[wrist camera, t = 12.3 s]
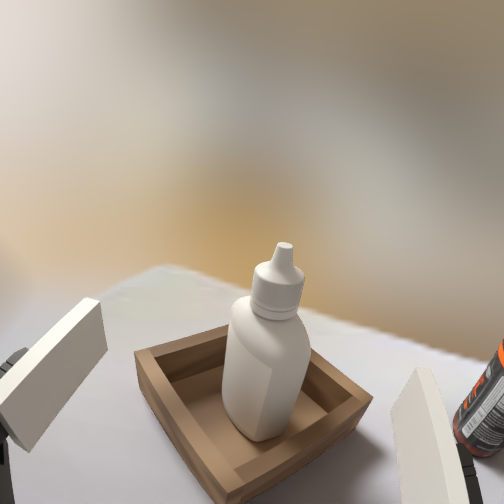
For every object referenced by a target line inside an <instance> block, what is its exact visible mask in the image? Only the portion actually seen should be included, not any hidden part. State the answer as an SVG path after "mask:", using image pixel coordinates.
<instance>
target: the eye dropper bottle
mask: <svg viewBox="0 0 504 504" xmlns="http://www.w3.org/2000/svg"><path fill="white" fill-rule="evenodd" d="M304 281H305V276H304V274H303V272H302V271H301V270H300V269H299V268H297V267H295V266H294V265H293V246H292V245H291V244H289V243H285V242H280V243H278V245H277V247H276V250H275V252H274V255H273V257H272V259H271V261H267V262H263V263H260V264H259V265H257V266H256V268H255V271H254V277H253V284H252V290H251V295H250V296H245V297H242V298H239V299H238V300H236V301H235V303H234V304H233V306H232V309H231V314H230V321H229V328H228V337H227V345H226V354H225V363H224V372H223V381H222V399H223V403H224V407H225V410H226V412H227V414H228V416H229V418H230V419H231V421H232V422H233V424H234V425H235V426H236V427H237V428H238V429H239V430H240V431H241V432H242V433H243V434H244V435H245V436H247V437H248V438H249V439H251V440H252V441H255V442H262V441H265V440H268V439H271V438H274V437H277V436H279V435H281V434H282V433H284V431H285V429H286V427H287V424H288V421H289V419H290V416H291V414H292V411H293V408H294V406H295V403H296V400H297V397H298V394H299V392H300V389H301V386H302V383H303V380H304V377H305V374H306V371H307V367H308V364H309V361H310V356H311V346H310V341H309V338H308V334H307V332H306V329H305V327H304V325H303V323H302V321H301V319H300V317H299V316H298V314H297V310H298V306H299V302H300V298H301V293H302V289H303V285H304Z"/></svg>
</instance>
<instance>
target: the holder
mask: <svg viewBox="0 0 504 504" xmlns="http://www.w3.org/2000/svg"><path fill="white" fill-rule="evenodd" d="M228 328H229V324H228V325H225V326H222V327H218V328H215V329H212V330H209V331H205V332H202V333H199V334H195V335H192V336H189V337H185V338H182V339H178V340H175V341H171V342H168V343H164V344H161V345H157V346H153V347H150V348H146V349H142V350H139V351H135V352H134V355H135V362H136V369H137V376H138V382H139V387H140V389H141V391H142V393H143V394H144V396H145V398H146V400H147V402H148V403H149V405H150V407H151V409H152V410H153V412H154V414H155V416H156V417H157V419H158V421H159V422H160V424H161V426H162V427H163V429H164V431H165V432H166V434H167V435H168V437H169V439H170V440H171V442H172V443H173V445H174V446H175V448H176V449H177V451H178V452H179V454H180V455H181V457H182V458H183V460H184V461H185V463H186V464H187V466H188V467H189V469H190V470H191V472H192V473H193V474H194V476H195V477H196V479H197V480H198V481H199V483H200V484H201V485H202V487H203V488H204V490H205V491H206V492H207V493H208V495H209V496H210V497H211V499H212V500H213V501H214V503H215V504H242V503H244V502H246V501H248V500H250V499H251V498H253V497H255V496H257V495H258V494H260V493H262V492H264V491H265V490H267V489H269V488H270V487H272V486H274V485H275V484H277V483H279V482H280V481H282V480H284V479H285V478H287V477H288V476H290V475H291V474H293V473H294V472H296V471H297V470H299V469H300V468H302V467H303V466H305V465H306V464H308V463H309V462H311V461H312V460H314V459H315V458H316V457H318V456H319V455H321V454H322V453H323V452H325V451H326V450H327V449H329V448H330V447H332V446H333V445H334V444H335V443H337V442H338V441H339V440H341V439H342V438H343V437H345V436H346V435H347V434H348V433H350V432H351V431H352V430H353V429H355V427H356V426H357V424H358V423H359V421H360V419H361V418H362V416H363V414H364V413H365V411H366V409H367V408H368V406H369V404H370V403H371V401H372V399H373V396H371V395H370V394H369V393H367V392H366V391H365V390H364V389H362V388H361V387H360V386H358V385H357V384H356V383H354V382H353V381H352V380H351V379H349V378H348V377H347V376H346V375H344V374H343V373H342V372H340V371H339V370H338V369H337V368H335V367H334V366H333V365H332V364H330V363H329V362H328V361H327V360H325V359H324V358H323V357H322V356H320V355H319V354H318V353H317V352H315V351H314V350H313V349H312V348H311V356H310V361H309V364H308V367H307V371H306V374H305V377H304V380H303V383H302V386H301V389H300V392H299V394H298V397H297V400H296V403H295V406H294V408H293V411H292V414H291V416H290V419H289V421H288V424H287V427H286V429H285V431H284V433H282V434H281V435H279V436H277V437H274V438H271V439H268V440H265V441H262V442H255V441H252V440H251V439H249V438H248V437H247V436H245V435H244V434H243V433H242V432H241V431H240V430H239V429H238V428H237V427H236V426H235V425H234V424H233V422H232V421H231V419H230V418H229V416H228V414H227V412H226V410H225V407H224V403H223V399H222V381H223V372H224V363H225V354H226V345H227V337H228Z"/></svg>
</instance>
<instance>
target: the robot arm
mask: <svg viewBox="0 0 504 504" xmlns="http://www.w3.org/2000/svg"><path fill="white" fill-rule="evenodd" d="M107 350H108V348H107V343H106V337H105V332H104V326H103V319H102V313H101V306H100V301H97V300H94V299H91V298H88V297H85V298H84V299H83V300H82V301H81V302H80V303H79V304H78V305H76V306H75V307H74V308H73V309H72V310H71V311H70V312H69V313H68V314H67V315H65V316H64V317H63V318H62V319H61V320H60V321H59V322H58V323H57V324H56V325H55V326H54V327H53V328H52V329H50V330H49V331H48V332H47V333H46V334H45V335H44V336H43V337H42V338H41V339H40V340H39V341H38V342H37V343H36V344H35V345H34V346H33V347H32V348H31V349H30V350H29V349H27V348H26V347H25V348H23V349H21V350H19V351H17V352H15V353H14V354H12V355H11V356H10V357H9V358H8V359H7V360H6V363H5V362H4V363H3V364H2V365H1V366H0V504H15V501H14V495H13V488H12V481H11V473H10V464H9V453H8V443H7V440H6V438H7V437H8V435H9V436H10V437H11V439H12V440H13V441H14V443H15V444H17V445H18V446H19V447H21V448H22V449H24V450H25V451H27V452H28V453H30V451H31V450H32V448H33V447H34V446H35V444H36V443H37V442H38V440H39V439H40V437H41V436H42V435H43V433H44V432H45V431H46V429H47V428H48V427H49V425H50V424H51V422H52V421H53V420H54V418H55V417H56V416H57V414H58V413H59V412H60V410H61V409H62V408H63V407H64V405H65V404H66V403H67V401H68V400H69V399H70V397H71V396H72V395H73V393H74V392H75V391H76V390H77V388H78V387H79V386H80V384H81V383H82V382H83V381H84V379H85V378H86V377H87V375H88V374H89V373H90V372H91V370H92V369H93V368H94V367H95V365H96V364H97V363H98V362H99V360H100V359H101V358H102V357H103V355H104V354H105V353H106V352H107ZM390 415H391V421H392V428H393V434H394V441H395V448H396V456H397V464H398V472H399V482H400V492H401V504H483V500H482V496H481V491H480V487H479V482H478V478H477V476H476V470H475V467H474V463H473V459H472V455H471V453H470V451H469V450H468V448H467V447H466V446H465V444H464V443H460V444H456V443H455V440H454V436H453V432H452V429H451V426H450V422H449V419H448V416H447V413H446V409H445V406H444V403H443V400H442V397H441V394H440V391H439V388H438V385H437V382H436V380H435V377H434V374H433V371H432V369H431V368H420V367H416V368H415V370H414V372H413V373H412V375H411V377H410V379H409V380H408V382H407V384H406V385H405V387H404V389H403V390H402V392H401V394H400V395H399V397H398V399H397V400H396V402H395V403H394V405H393V406H392V408H391V410H390Z"/></svg>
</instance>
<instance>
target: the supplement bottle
mask: <svg viewBox="0 0 504 504" xmlns="http://www.w3.org/2000/svg"><path fill="white" fill-rule="evenodd" d="M453 432H454V434H455V437H456V439H457V441H458V442H459V444H460V443H464V444H465V446H466V447H467V448H468V450H469V451H470V453H471V454H472V455H476V456H480V457H488V456H492V455H494V454H496V453H497V452H499V451H500V450H501V449H502V448H503V447H504V339H503V341H502V343H501V345H500V346H499V348H498V350H497V351H496V353H495V355H494V356H493V358H492V360H491V361H490V363H489V364H488V366H487V368H486V370H485V371H484V373H483V374H482V376H481V377H480V379H479V380H478V382H477V383H476V385H475V386H474V387H473V389H472V391H471V392H470V393H469V395H468V396H467V397H466V399H465V400H464V401H463V403H462V404H461V405H460V407H459V409H458V410H457V412H456V414H455V416H454V419H453Z"/></svg>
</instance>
